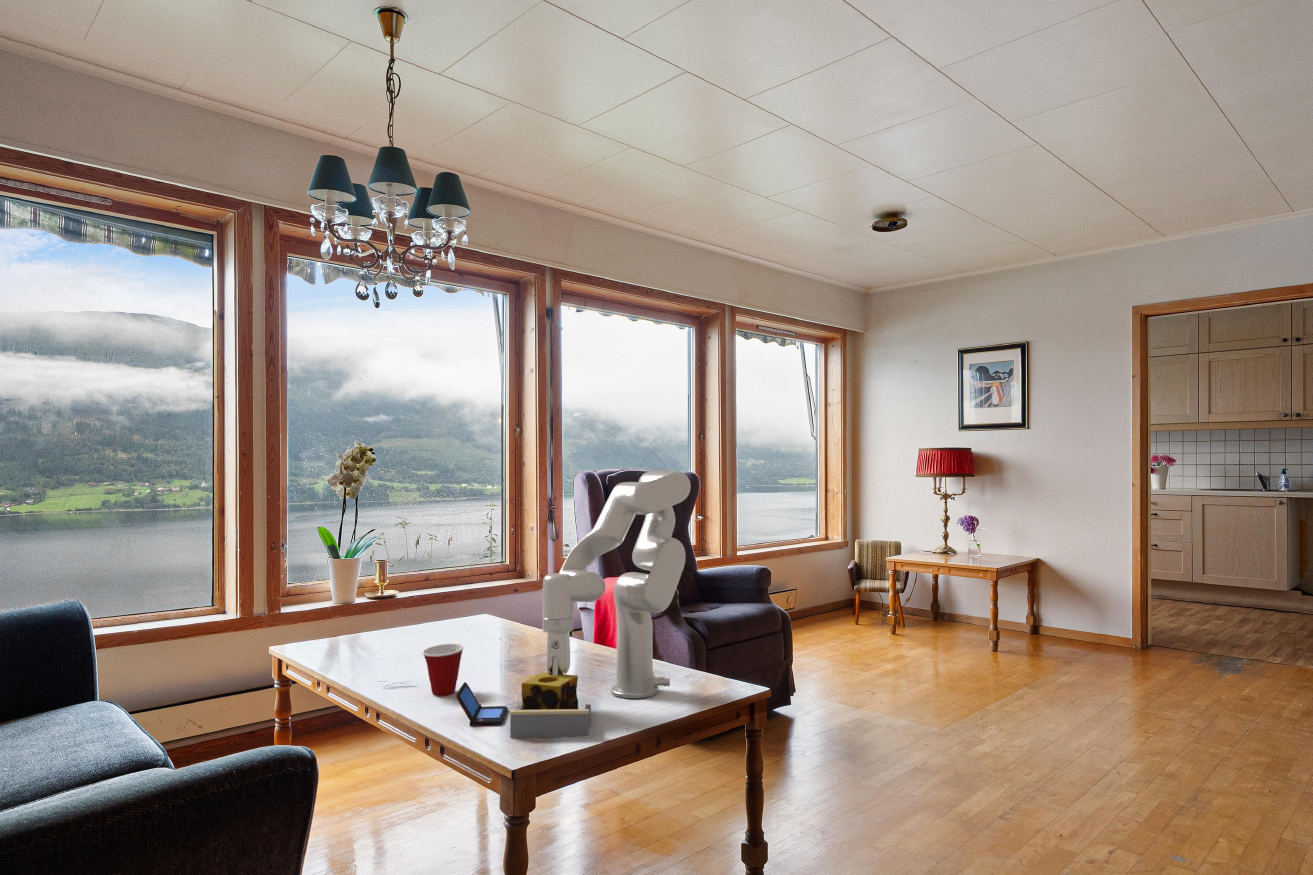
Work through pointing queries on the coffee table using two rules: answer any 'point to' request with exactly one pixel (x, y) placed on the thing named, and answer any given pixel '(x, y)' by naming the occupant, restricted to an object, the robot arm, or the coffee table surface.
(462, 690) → the handheld game console
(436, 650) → the plastic cup
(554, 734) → the holder
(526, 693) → the yellow and black cube
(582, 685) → the coffee table surface
